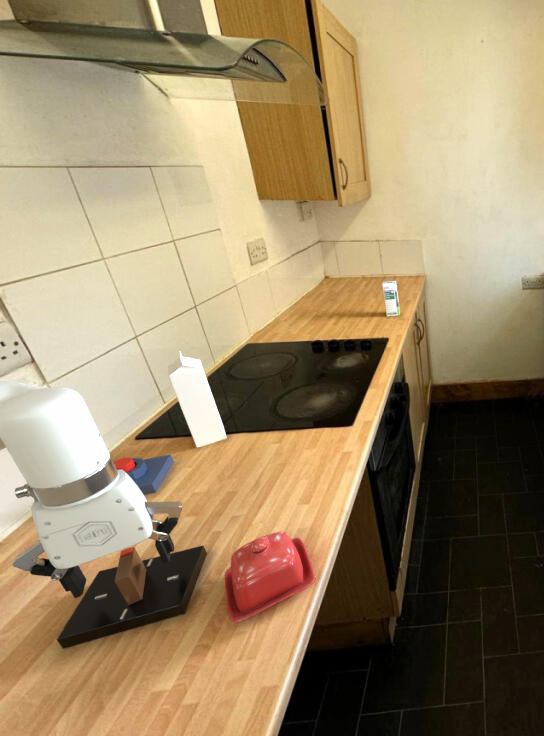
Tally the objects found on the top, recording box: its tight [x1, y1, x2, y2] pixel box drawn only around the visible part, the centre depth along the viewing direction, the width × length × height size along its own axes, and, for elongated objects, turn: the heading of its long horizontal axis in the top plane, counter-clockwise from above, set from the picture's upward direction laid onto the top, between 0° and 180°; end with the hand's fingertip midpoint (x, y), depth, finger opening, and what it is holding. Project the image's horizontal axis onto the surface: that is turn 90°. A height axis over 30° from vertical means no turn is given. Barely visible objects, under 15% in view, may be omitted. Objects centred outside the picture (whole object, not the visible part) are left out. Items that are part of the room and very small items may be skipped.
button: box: [113, 456, 135, 472], centre depth 84 cm, size 4×4×2 cm
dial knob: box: [115, 546, 146, 605], centre depth 61 cm, size 6×2×5 cm, turn 34°
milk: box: [167, 350, 227, 449], centre depth 96 cm, size 6×6×22 cm
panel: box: [56, 545, 208, 650], centre depth 62 cm, size 14×11×2 cm
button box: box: [126, 454, 175, 496], centre depth 85 cm, size 12×10×4 cm
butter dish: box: [223, 531, 316, 624], centre depth 63 cm, size 12×12×8 cm
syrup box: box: [381, 280, 401, 318], centre depth 180 cm, size 6×6×14 cm
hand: (126, 571), depth 61 cm, fingers open, 9 cm apart
